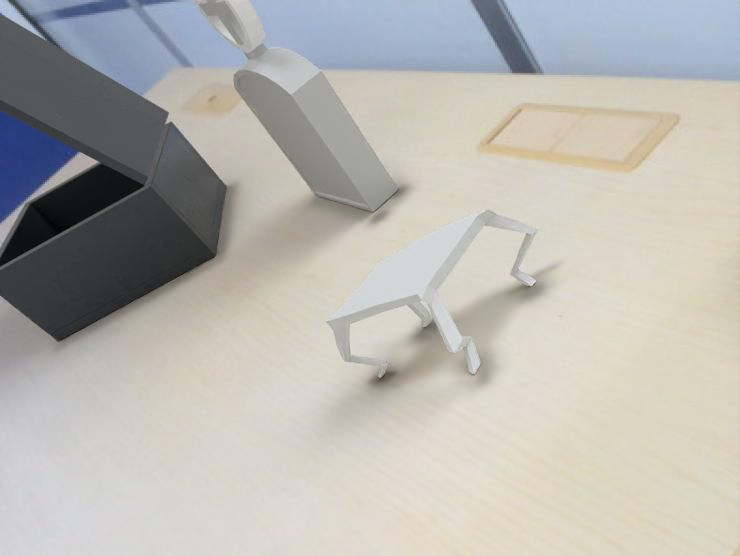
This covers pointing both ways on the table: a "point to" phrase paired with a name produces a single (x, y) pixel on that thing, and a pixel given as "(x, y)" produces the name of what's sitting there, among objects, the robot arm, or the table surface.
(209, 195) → the chest
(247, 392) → the table surface
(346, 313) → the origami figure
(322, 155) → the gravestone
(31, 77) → the lid
